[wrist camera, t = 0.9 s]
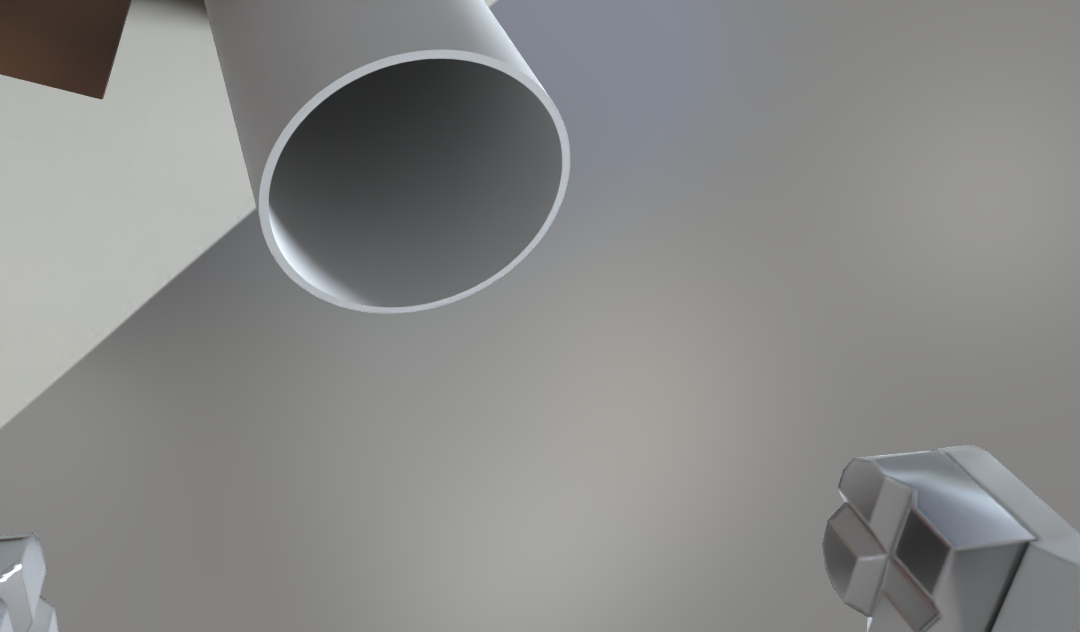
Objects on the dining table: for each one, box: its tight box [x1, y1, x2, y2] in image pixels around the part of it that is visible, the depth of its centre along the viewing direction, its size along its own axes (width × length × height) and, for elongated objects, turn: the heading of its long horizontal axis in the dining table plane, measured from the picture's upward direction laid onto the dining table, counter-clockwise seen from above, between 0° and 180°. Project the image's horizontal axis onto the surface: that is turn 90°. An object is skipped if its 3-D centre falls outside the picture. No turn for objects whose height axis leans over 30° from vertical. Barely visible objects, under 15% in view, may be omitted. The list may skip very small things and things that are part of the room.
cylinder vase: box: [204, 0, 570, 313], centre depth 45 cm, size 12×12×25 cm
